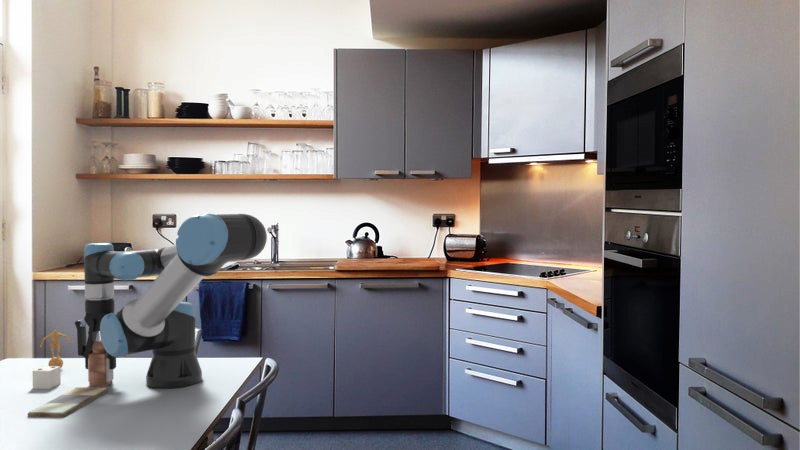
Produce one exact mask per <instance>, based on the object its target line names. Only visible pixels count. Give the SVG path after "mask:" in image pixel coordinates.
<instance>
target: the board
mask: <svg viewBox="0 0 800 450" xmlns="http://www.w3.org/2000/svg"><path fill="white" fill-rule="evenodd" d="M108 392H109V389H108V388H107V387H81V386H80V387H79V386H78V387H77V386H76V387H74V388H73V389H71V390H69V391H67V392H65V393H62V394H61V395H59V396H57V397H55V398H53V399H51V400H50V401H48V402H46V403H44V404H42V405H39V406H37V407H36V408H34V409H32V410H30V411H29V412H28V413H27V417H28V418H30V417H31V418H34V417H35V418H37V417H38V418H39V417H40V418H41V417H43V418H65V417H68V415H70V414H73V413H74V412H76V411H78V410H79V409H81V408H83V407H85V406H86V405H88V404H90V403H91V402H93V401H95V400H97V399H98V398H100V397H101V396H103V395H105V394H107V393H108Z"/></svg>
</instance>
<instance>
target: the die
mask: <svg viewBox="0 0 800 450" xmlns="http://www.w3.org/2000/svg"><path fill="white" fill-rule="evenodd" d="M31 372H32V389H46V390H47V389H49V390H50V389H52V388H55V387H57V386H59V385H61V383H62V382H61V380H62V379H61V377H62V376H61V368H60V366H49V365H47V366H45V365H44V366H43V365H42V366H41V367H38V368H36V369H34V370H32V371H31Z"/></svg>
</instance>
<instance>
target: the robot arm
mask: <svg viewBox="0 0 800 450" xmlns="http://www.w3.org/2000/svg"><path fill="white" fill-rule="evenodd" d="M176 233H177V234H176V236H178V237H176V239H175V244H174V243H173V244H172V245H168V246H164V247H161V248H155V249H141V250H128V251H115V250H114V244H113V243H110V242H97V243H96V242H95V243H87V244H86V245H85V246H84V255H83V267H84V272H83V273H84V298H85V300H84V312H85V316H84V318H82V319H79V320H76V321H75V322H74V325H75V327H76V332H77V333H76V334H77V335H76V336H77V337H76V338H77V339H76V340H77V355H78V357H81V356H82V357H83V358H84V361H85V362H84V367H85V370H87V371H88V372H87V377H88V379H87V380H88V382H89V354H91V353H94V352H93V349H92V346H93V344H94V342H96V341H97V335H98V333H99V335H100V340H101V341H102V344H103V346H104V348H105V350H106V351H107V353H108V356H109V357H107V358H106V382H109V381H111V380H112V381H113V380H114V370H115V369H116V367H117V358H121V357H127V356H131V355H135V354H140V353H145V352H150V351H152V357H151V361H150V363H149V366H148V369H147V373H146V376H145V379H146V380H145V382H146V383H145V384H146V386H148V387H151V388H157V389H173V388H183V387H187V386H191V385H195V384H197V383H198V384H199V382H201V381H202V379H203V373H202V372H203V371H202V367H201V365H200V363H199V360H198V356H197V354H196V313H195V311H196V310H195V309H196V308H195V305H194V304H193V303H191V302H188V301H184V299H185V298H186V297H187V296H188V295H189V294H190V293H191V292H192V291H193V290H194V288H195V287H196V286H198V284H199V283H200V282H201V281H202V280H203V279H204V278H206V277H213V276H214V275H216V274H217V273H218V272H219V271H220V270H221V269H222V267H224V266H225V264H227V263H229V262H238V261H246V260H250V259H253V258H255V257H257V256H258V255H260V254H261V253H262V252H263V250H264V249H265V247H266V243H267V241H268V240H267V239H268V238H267V236H268V235H267V231H266V228H265V225H264V224H263V223H262V222H261V221H260V220H259V219H258V218H257V217H255V216H254V215H252V214H251V215H250V214H246V213H227V214H226V213H225V214H223V213H222V214H219V213H218V214H214V213H202V214H196V215H193V216H190V217H188V218H187V219H185V220H184V221H183V222H182V223H181V225H180V226H179V227H178V230H177V232H176ZM153 276H157V277H156V278H155V279H154V280H153V281H152V282H151V283H150V285H149V286H148V287H147V288H146V289H145V291H144V292H143V293H142V294H141V296H140V297H139V298H133V299H131V300H129V301H128V302H126V303H125V304H124V306H122V308H121V309H120V310H119V311H117V312H115V298H114V296H115V280H120V281H134V280H136V279H138V278H146V277H153ZM86 326H88V332H87V329H86V328H87V327H86ZM87 335H88V336H87Z"/></svg>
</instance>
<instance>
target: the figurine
mask: <svg viewBox="0 0 800 450" xmlns="http://www.w3.org/2000/svg"><path fill="white" fill-rule="evenodd" d="M60 337H64V338H65V339H66V341H67V342H68V345H69V346H71V340H70V339H69V338H68V336H67V335H66V334H63V333H61V332H58V331H57V330H56V329H55V330H53V332H51V333H50V334H48V335H46V336H45V337H43V339H42V341H41V343H40V346H39V347H40V349H41V348H43V347H42V346H43V344H44V342H45V340H47V339H48V338H51V340H52V342H50V350H51V358H50V360H49V361H48V366H60V369H62V368H63V366H64V360H63V359H62V358H61V357H60V351H61V350H60V349H61V341H59V338H60ZM55 346H56V348H57V353H56V356H55V353H54V352H55V351H54V349H55Z"/></svg>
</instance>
